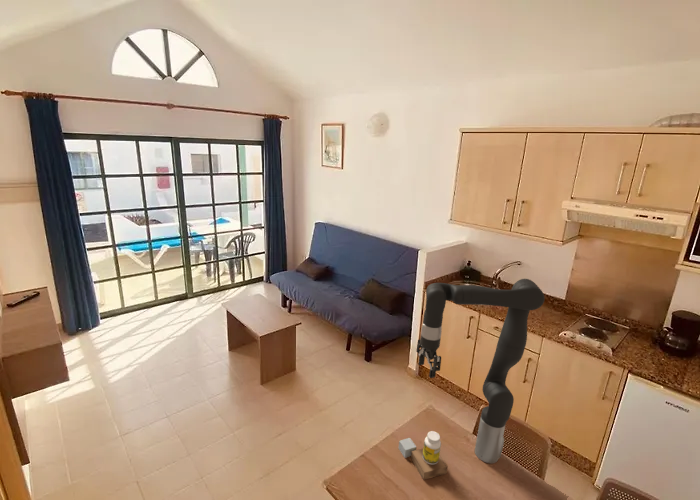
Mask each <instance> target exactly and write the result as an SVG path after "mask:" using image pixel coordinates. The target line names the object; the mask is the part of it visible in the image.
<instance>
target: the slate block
mask: <svg viewBox="0 0 700 500" xmlns="http://www.w3.org/2000/svg"><path fill="white" fill-rule="evenodd" d="M398 450H399V451H400V453H401V454H402V457H403V458H404V459H407V458H408V457H411V453H412V451H415V450H417V445H416V443H414V441H413V440H412V439H411V438H410V437H408V438H403V439H401V440H399V441H398Z"/></svg>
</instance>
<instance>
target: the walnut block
mask: <svg viewBox="0 0 700 500" xmlns="http://www.w3.org/2000/svg"><path fill="white" fill-rule="evenodd" d="M410 459H411V461H412V462H413V465H414V466H415V468H416V469H417V472H418V474H419V475H420V477H421V479H422V480H429V479H432V478H435V477H438V476H439V477H441V476H443V475H446V474H448V465H447V464H446V462H445V460H444V459H443V457H442V456H441V454H440V455H439V460H438V462H437V463H436V464H434V465H431V464H428V463H426V462H425V461H424V459H423V448H421V449H419V448H418V449H416V450H415V451H412V453H411V456H410Z"/></svg>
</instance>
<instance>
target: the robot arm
mask: <svg viewBox="0 0 700 500" xmlns="http://www.w3.org/2000/svg"><path fill="white" fill-rule="evenodd" d="M425 295H426V299H425V301H426V302H425V310H424V311H423V319H422V325H421V331H420V339H417V344H416V348H415V349H416V350H415V351H416V353H418V365H419V366H424V365H425V359H426V362H427V364H428V365H429V374H428V377H429V378H430V379H433V378H436V374H437V373H436V372H439V371H441V365H442V356H441V355H437V351H438V349H439V348H440V345H441V338H442V329H443V327H442V325H443V319H444V313H445V308H446V303H447V301H448V302H449V301H451V302H453V303H454V304H455V305H459V306H460V305H466V306H467V305H469V306H470V305H471V306H472V305H473V306H476V305H478V306H495V307H496V306H497V307H503V308H507V312H506V315H505V319H504V322H503V324H502V328H501V330H500V334H499V337H498V341H497V343H496V344H497V345H496V347H495V352H494V355H493V358H492V362H491V365H490V368H489V370H488V372H487V375H486V377H485V379H484V382H483V385H482V394H483V395H484V398H485V399H486V401H487V402H488V406H485V407H483V408H482V409H481V414H480V419H479V424H478V431H477V435H476V441H475V447H474V453H475V456H476V457H477V458H478V459H479V460H480V461H482V462H484V463H486V464H495V463H497V462H498V460H500V458H501V457H502V452H503V449H504V443H505V437H504V433H505V429H506V424H507V422H508V420H509V419H510V417H511V414H512V411H513V407H514V406H513V405H514V399H515V398H514V396H513V393H512V392H511V390H510V389H509V388H508V386H507V384H506V383H507V382H506V380H507V377H508V374H509V371H510V370H511V368H513V367H515V365H516V364H518V363H519V362H520V361H521V360H522V358H523V356H524V352H525V348H526V345H527V340H528V319H529V314H530V311H535V310H538V309H540V308H541V307H542V306H543V305H544V303H545V301H546V300H545V298H546V297H545V294H544V293H543V290H542V289H541V288H540V287H539V286H538V284H536V283H535V282H534V281H533V280H531V279H529V278H521V279H519V280H517V281H516V282H515V283H513V286H512V287H511V289H500V288H499V289H498V288H492V287H487V286H482V285H473V284H469V285H468V284H467V285H466V284H465V285H464V284H460V285H456V284H452V283H451V284H450V283H444V282H434V283H431V284H428V285H427V288H426V290H425Z"/></svg>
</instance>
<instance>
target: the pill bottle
mask: <svg viewBox="0 0 700 500" xmlns="http://www.w3.org/2000/svg"><path fill="white" fill-rule="evenodd" d="M441 447H442V442H441V436H440V434H439V432H436V431H434V430H431V431H428V432H427V435H426V437H425V438H424V441H423V448H422V449H423V459H424V461H425V462H426V463H428V464H431V465H434V464H436V463H437V462H438V460H439V455H440V456H441V454H440V453H441Z"/></svg>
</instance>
